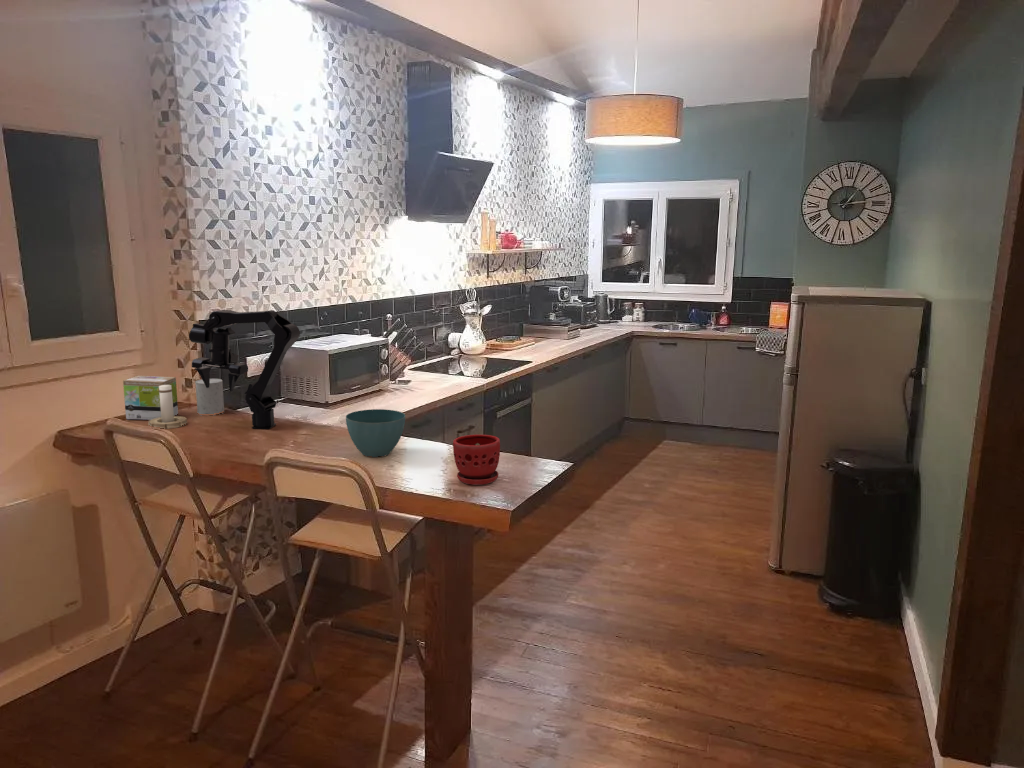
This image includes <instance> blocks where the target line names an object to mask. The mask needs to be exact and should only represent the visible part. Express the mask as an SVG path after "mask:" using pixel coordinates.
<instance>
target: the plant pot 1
mask: <svg viewBox="0 0 1024 768" xmlns="http://www.w3.org/2000/svg"><path fill="white" fill-rule="evenodd" d="M345 423H346V424H345V425H346V427H347V431H348V432H347V433H348V434H349V437H350V440H351V441H352V442H353V445H354V446H355V447H356V448H357V450H358V451H359V452H360V454H362V455H363V456H364V455H365V456H364V457H368V456H372V457H371V458H379V457H378V456H383V457H386V456H388V455H390V454H391V453H392V451H394V449H395V448H396V446H397V445H398V443H399V442H400V440H401V437H402V434H403V432H404V428H405V423H406V414H405V413H404V412H402V411H398V410H394V409H383V408H378V409H377V408H373V409H364V410H363V409H361V410H357V411H352V412H350V413H347V414H346V415H345ZM385 455H386V456H385Z"/></svg>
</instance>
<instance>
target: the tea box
mask: <svg viewBox="0 0 1024 768" xmlns="http://www.w3.org/2000/svg"><path fill="white" fill-rule="evenodd" d="M122 383H123V384H122V386H123V396H124V397H123V398H124V400H123V401H124V410H125V419H126V420H144V421H145V420H146V421H147V420H148V421H150V420H152V419H154V418H159V417H161V406H160V394H159V386H161V385H171V387H172V399H173V412H174V416H175V415H176V416H178V415H179V408H178V407H179V404H178V402H179V401H178V390H177V389H178V388H177V377H176V376H157V375H156V376H154V375H152V376H151V375H150V376H149V375H136V376H134V377H130V378H128V379H125V380H123V381H122ZM177 414H178V415H177Z"/></svg>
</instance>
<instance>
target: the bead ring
mask: <svg viewBox="0 0 1024 768" xmlns="http://www.w3.org/2000/svg"><path fill="white" fill-rule="evenodd" d="M147 423H148V426H149V425H150V426H154V427H160V428H164V429H163V430H166V429H167V430H168V429H175V428H180V427H183V426H185V425H187V424H188V418H186V417H185V416H181V415H180V416H179V415H176V416H174V422H168V423H162V419H161V417H159V418H154V419H152V420H148V422H147ZM186 423H187V424H186ZM184 424H185V425H184ZM182 425H183V426H182Z"/></svg>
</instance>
